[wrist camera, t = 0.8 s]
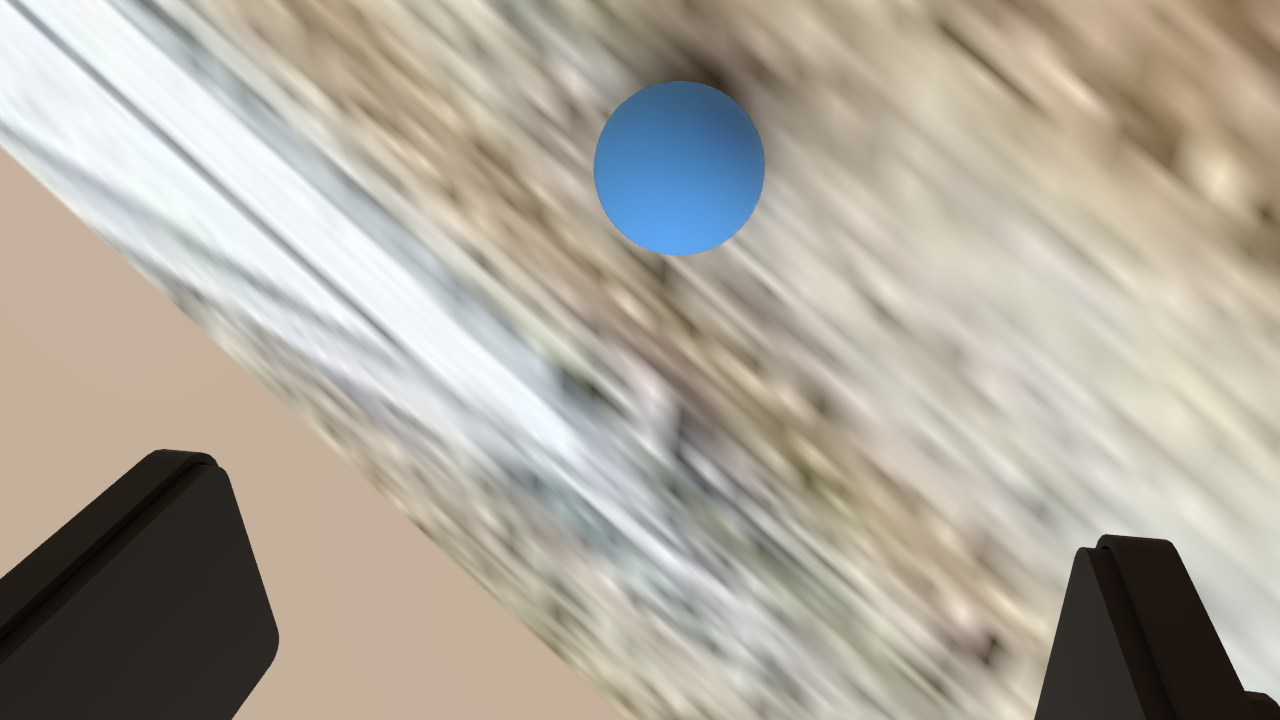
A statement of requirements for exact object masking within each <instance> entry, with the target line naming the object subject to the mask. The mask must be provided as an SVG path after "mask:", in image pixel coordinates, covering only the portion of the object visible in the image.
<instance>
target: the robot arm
mask: <svg viewBox="0 0 1280 720" xmlns="http://www.w3.org/2000/svg"><path fill="white" fill-rule="evenodd" d="M278 645H279V634H278V629H277V626H276V622H275V619H274V616H273V613H272V610H271V607H270V604H269V601H268V598H267V594H266V591H265V588H264V585H263V582H262V579H261V576H260V573H259V570H258V567H257V563H256V560H255V557H254V554H253V551H252V548H251V545H250V542H249V538H248V535H247V532H246V529H245V526H244V523H243V520H242V517H241V514H240V511H239V507H238V504H237V501H236V498H235V495H234V492H233V489H232V486H231V483H230V480H229V477H228V475H227V473H226V471H225V470H224V469H223V468H221V467H219V466H218V464H217V462H216V460H215V459H214V458H213V457H212V456H210V455H209V454H206V453H201V452H189V451H178V450H167V449H161V450H155V451H153V452H152V453H150V454H148V455H147V456H146V457H144V458H143V459H142V460H141V461H140V462H139V463H137V464H136V465H135V466H134V467H133V468H131V469H130V470H129V471H128V472H127V473H125V474H124V475H123V476H122V477H121V478H120V479H118V480H117V481H116V482H115V483H114V484H112V485H111V486H110V487H109V488H108V489H107V490H105V491H104V492H103V493H102V494H101V495H99V496H98V497H97V498H96V499H95V500H94V501H92V502H91V503H90V504H89V505H88V506H86V507H85V508H84V509H83V510H82V511H81V512H79V513H78V514H77V515H76V516H75V517H73V518H72V519H71V520H70V521H69V522H68V523H66V524H65V525H64V526H63V527H62V528H60V529H59V530H58V531H57V532H56V533H54V534H53V535H52V536H51V537H50V538H49V539H47V540H46V541H45V542H44V543H43V544H41V545H40V546H39V547H38V548H37V549H35V550H34V551H33V552H32V553H31V554H30V555H28V556H27V557H26V558H25V559H24V560H23V561H21V563H19V564H18V565H17V566H15V567H14V568H13V569H12V570H11V571H9V572H8V573H7V574H6V575H5V576H4V577H2V578H1V579H0V720H232V718H233V717H234V715H235V714H236V713H237V711H238V710H239V708H240V707H241V705H242V704H243V703H244V701H245V700H246V699H247V697H248V696H249V694H250V693H251V691H252V690H253V689H254V688H255V686H256V685H257V683H258V682H259V681H260V679H261V678H262V676H263V675H264V674H265V672H266V671H267V669H268V668H269V667H270V665H271V663H272V662H273V660H274V658H275V655H276V653H277V650H278ZM1034 720H1280V707H1279V705H1278V704H1277V702H1276V701H1274V700H1273V699H1272V698H1271V697H1269V696H1268V695H1267V694H1265V693H1258V692H1250V691H1244V688H1243V686H1242V684H1241V682H1240V680H1239V678H1238V676H1237V674H1236V672H1235V670H1234V668H1233V666H1232V664H1231V661H1230V659H1229V657H1228V655H1227V653H1226V651H1225V649H1224V647H1223V645H1222V643H1221V641H1220V639H1219V637H1218V635H1217V632H1216V630H1215V628H1214V626H1213V624H1212V622H1211V620H1210V618H1209V616H1208V614H1207V612H1206V610H1205V608H1204V605H1203V603H1202V601H1201V599H1200V597H1199V595H1198V593H1197V591H1196V589H1195V587H1194V585H1193V583H1192V581H1191V578H1190V576H1189V574H1188V572H1187V570H1186V568H1185V566H1184V564H1183V562H1182V560H1181V558H1180V556H1179V554H1178V552H1177V550H1176V548H1175V547H1174V545H1173V544H1172V543H1171V542H1170V541H1168V540H1164V539H1153V538H1142V537H1131V536H1120V535H1109V534H1106V535H1102V536H1101V538H1100V539H1099V540H1098V542H1097V545H1096V548H1086V547H1081V548H1079V549H1078V551H1077V553H1076V555H1075V558H1074V562H1073V566H1072V570H1071V574H1070V578H1069V582H1068V586H1067V590H1066V594H1065V598H1064V602H1063V606H1062V610H1061V614H1060V618H1059V622H1058V626H1057V630H1056V634H1055V639H1054V643H1053V647H1052V651H1051V655H1050V659H1049V663H1048V667H1047V671H1046V675H1045V679H1044V683H1043V687H1042V691H1041V695H1040V699H1039V703H1038V707H1037V711H1036V715H1035V719H1034Z"/></svg>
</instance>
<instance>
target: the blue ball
mask: <svg viewBox="0 0 1280 720" xmlns="http://www.w3.org/2000/svg"><path fill="white" fill-rule="evenodd" d="M764 167H765V162H764V152H763V148H762V144H761V140H760V138H759V135H758V132H757V130H756V128H755V126H754V125H753V123H752V121H751V119H750V118H749V116H748V115H747V114H746V112H745V111H744V110H743V109H742V108H741V107H740V106H739V105H738V104H737V103H736V102H735V101H734V100H733V99H731V98H730V97H729V96H728V95H726V94H724V93H723V92H721V91H719V90H717V89H715V88H713V87H710V86H708V85H705V84H701V83H697V82H690V81H670V82H663V83H659V84H655V85H652V86H650V87H647V88H645V89H643V90H641V91H639V92H637V93H636V94H634V95H633V96H631V97H630V98H628V99H627V100H626V101H625V102H624V103H622V104H621V105H620V106H619V107H618V108H617V110H616V111H615V112H614V113H613V114H612V116H611V117H610V119H609V120H608V122H607V123H606V125H605V127H604V129H603V131H602V133H601V135H600V138H599V141H598V144H597V148H596V153H595V158H594V180H595V185H596V190H597V193H598V196H599V199H600V202H601V205H602V207H603V209H604V211H605V213H606V214H607V216H608V217H609V219H610V221H611V222H612V223H613V224H614V225H615V227H616V228H617V229H618V230H619V231H620V232H621V233H622V234H623V235H624V236H626V237H627V238H628V239H630V240H631V241H632V242H634V243H636V244H638V245H639V246H641V247H643V248H646V249H648V250H650V251H654V252H657V253H661V254H667V255H690V254H695V253H699V252H703V251H706V250H709V249H712V248H714V247H716V246H718V245H720V244H722V243H723V242H725V241H726V240H727V239H729V238H730V237H731V236H733V235H734V234H735V233H736V232H737V231H738V230H739V229H740V228H741V227H742V226H743V225H744V224H745V222H746V221H747V220H748V218H749V217H750V215H751V214H752V212H753V210H754V208H755V206H756V204H757V202H758V200H759V197H760V194H761V191H762V187H763V181H764Z"/></svg>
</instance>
